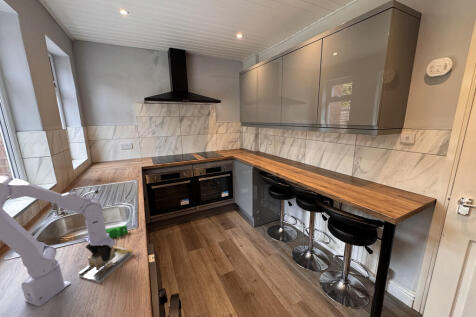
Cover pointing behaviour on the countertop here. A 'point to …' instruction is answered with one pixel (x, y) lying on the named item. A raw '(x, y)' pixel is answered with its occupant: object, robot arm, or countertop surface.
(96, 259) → the tan notched block
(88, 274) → the silver channel bracket
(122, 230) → the pipe clamp
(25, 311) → the countertop surface
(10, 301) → the countertop surface
